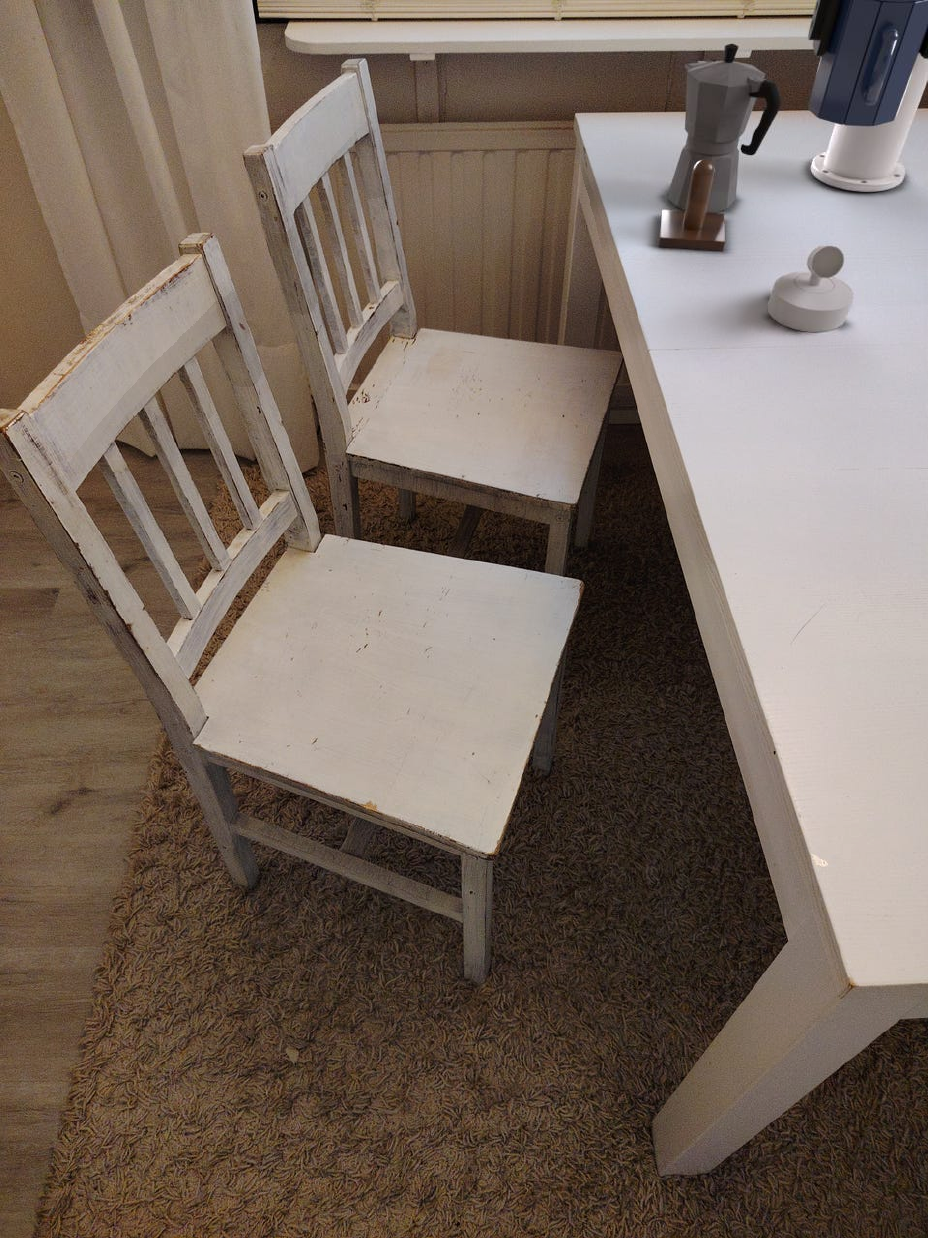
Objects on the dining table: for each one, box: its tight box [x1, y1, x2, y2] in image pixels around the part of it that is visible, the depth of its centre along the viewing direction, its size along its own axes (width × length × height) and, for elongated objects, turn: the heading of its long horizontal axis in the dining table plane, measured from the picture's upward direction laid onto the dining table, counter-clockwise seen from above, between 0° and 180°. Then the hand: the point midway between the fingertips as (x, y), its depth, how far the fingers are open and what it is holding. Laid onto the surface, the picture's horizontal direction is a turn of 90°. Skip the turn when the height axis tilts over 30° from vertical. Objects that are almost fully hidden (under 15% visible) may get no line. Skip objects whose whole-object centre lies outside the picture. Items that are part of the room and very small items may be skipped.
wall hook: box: [767, 244, 855, 333], centre depth 87 cm, size 9×10×10 cm
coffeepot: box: [666, 43, 782, 213], centre depth 102 cm, size 15×9×18 cm, turn 36°
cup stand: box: [658, 159, 726, 252], centre depth 100 cm, size 8×8×9 cm
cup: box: [806, 0, 928, 126], centre depth 64 cm, size 9×8×9 cm
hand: (870, 50), depth 65 cm, fingers closed on cup, 7 cm apart
